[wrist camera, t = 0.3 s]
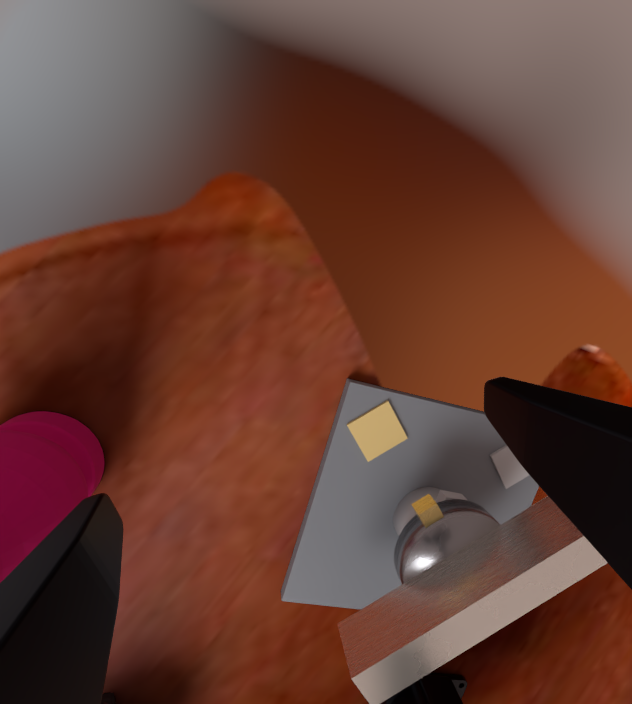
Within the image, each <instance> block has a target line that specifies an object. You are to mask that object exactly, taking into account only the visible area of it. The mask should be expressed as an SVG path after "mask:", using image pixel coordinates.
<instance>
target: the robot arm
mask: <svg viewBox="0 0 632 704" xmlns="http://www.w3.org/2000/svg"><path fill="white" fill-rule="evenodd" d="M484 412H485V415H486V417H487V419H488V420H489V422H490V423H491V424H492V426H493V427H494V429H495V430H496V431H497V433H498V434H499V435H500V437H501V438H502V440H503V441H504V442H505V444H506V445H507V446H508V448H509V449H510V451H511V452H512V453H513V455H514V456H515V458H516V459H517V460H518V462H519V463H520V464H521V465H522V467H523V468H524V469H525V470H526V471H527V473H528V474H529V475H530V476H531V477H532V478H533V479H534V481H535V482H536V483H537V484H538V485H539V486H540V487H541V488H542V490H543V491H544V492H545V493H546V494H547V495H548V496H549V497H550V499H551V500H552V501H553V502H554V503H555V504H556V505H557V506H558V508H559V509H560V510H561V511H562V512H563V513H564V514H565V515H566V517H567V518H568V519H569V520H570V521H571V522H572V523H573V524H574V525H575V527H576V528H577V529H578V530H579V531H580V532H581V533H582V534H583V536H584V537H585V538H586V539H587V540H588V541H589V542H590V543H591V545H592V546H593V547H594V548H595V549H596V550H597V551H598V552H599V554H600V555H601V556H602V557H603V558H604V559H605V560H606V561H607V563H608V564H609V565H610V566H611V567H612V568H613V569H614V570H615V571H616V573H617V574H618V575H619V576H620V577H621V578H622V579H623V580H624V582H625V583H626V584H627V585H628V586H629V587H630V588H631V589H632V407H628V406H623V405H619V404H615V403H611V402H607V401H602V400H598V399H594V398H590V397H586V396H581V395H577V394H573V393H569V392H565V391H561V390H556V389H552V388H548V387H544V386H540V385H535V384H531V383H527V382H523V381H519V380H514V379H510V378H506V377H498V378H495V379H491V380H488V381H487V382H486V383H485V387H484ZM122 543H123V522H122V519H121V517H120V515H119V514H118V512H117V510H116V508H115V506H114V505H113V503H112V501H111V499H110V498H109V496H108V495H107V494H105V493H100V494H97V495H93V496H90V497H87V498H85V499H83V500H82V501H81V502H80V503H79V504H78V505H77V506H76V507H75V508H74V509H73V510H72V511H71V512H70V513H69V514H68V515H67V516H66V517H65V518H64V519H63V520H62V521H61V522H60V523H59V524H58V525H57V526H56V527H55V528H54V529H53V530H52V531H51V532H50V533H49V534H48V535H47V536H46V537H45V538H44V539H43V540H42V541H41V542H40V543H39V544H38V545H37V546H36V547H35V548H34V549H33V550H32V551H31V552H30V553H29V554H28V555H27V556H26V557H25V558H24V559H23V560H22V561H21V562H20V563H19V565H18V566H17V567H16V568H15V569H14V570H13V571H12V572H11V573H10V574H9V575H8V576H7V577H6V578H5V579H4V580H3V581H2V582H1V583H0V704H101V700H102V694H103V688H104V683H105V677H106V671H107V665H108V660H109V654H110V648H111V643H112V637H113V631H114V625H115V620H116V614H117V607H118V601H119V590H120V575H121V559H122ZM466 687H467V682H466V680H465V678H464V676H461V675H448V674H434V673H429V674H427V675H426V676H424V677H422V678H421V679H419V680H418V681H416V682H414V683H413V684H411V685H410V686H408V687H406V688H405V689H403V690H401V691H400V692H398V693H397V694H395V695H393V696H392V697H390V698H388V699H387V700H385V701H384V702H382V704H463V702H462V700H461V699H462V696H463V694H464V691H465V689H466Z"/></svg>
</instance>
